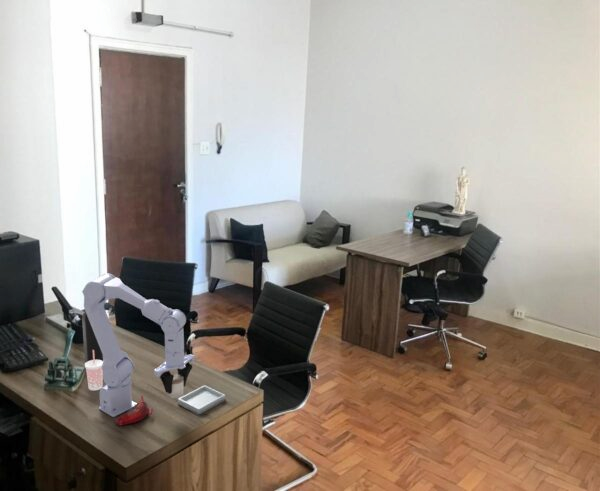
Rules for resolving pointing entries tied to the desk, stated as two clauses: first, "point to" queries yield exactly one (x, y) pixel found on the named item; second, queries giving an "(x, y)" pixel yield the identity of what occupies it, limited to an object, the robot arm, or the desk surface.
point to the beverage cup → (94, 373)
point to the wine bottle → (90, 341)
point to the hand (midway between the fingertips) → (175, 389)
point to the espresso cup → (177, 386)
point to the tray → (201, 399)
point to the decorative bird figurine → (134, 413)
